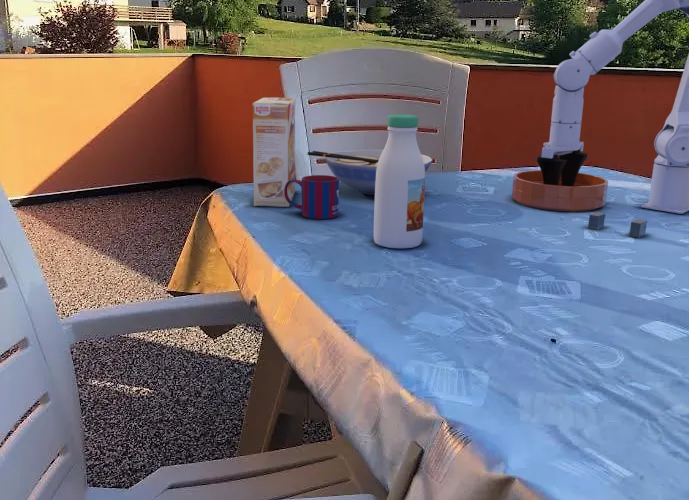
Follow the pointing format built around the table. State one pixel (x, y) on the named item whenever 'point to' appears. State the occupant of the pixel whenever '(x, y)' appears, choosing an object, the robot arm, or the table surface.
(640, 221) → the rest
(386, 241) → the milk bottle
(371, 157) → the ramen bowl
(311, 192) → the mug
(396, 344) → the table surface
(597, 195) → the bowl
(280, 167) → the coffeecake box
